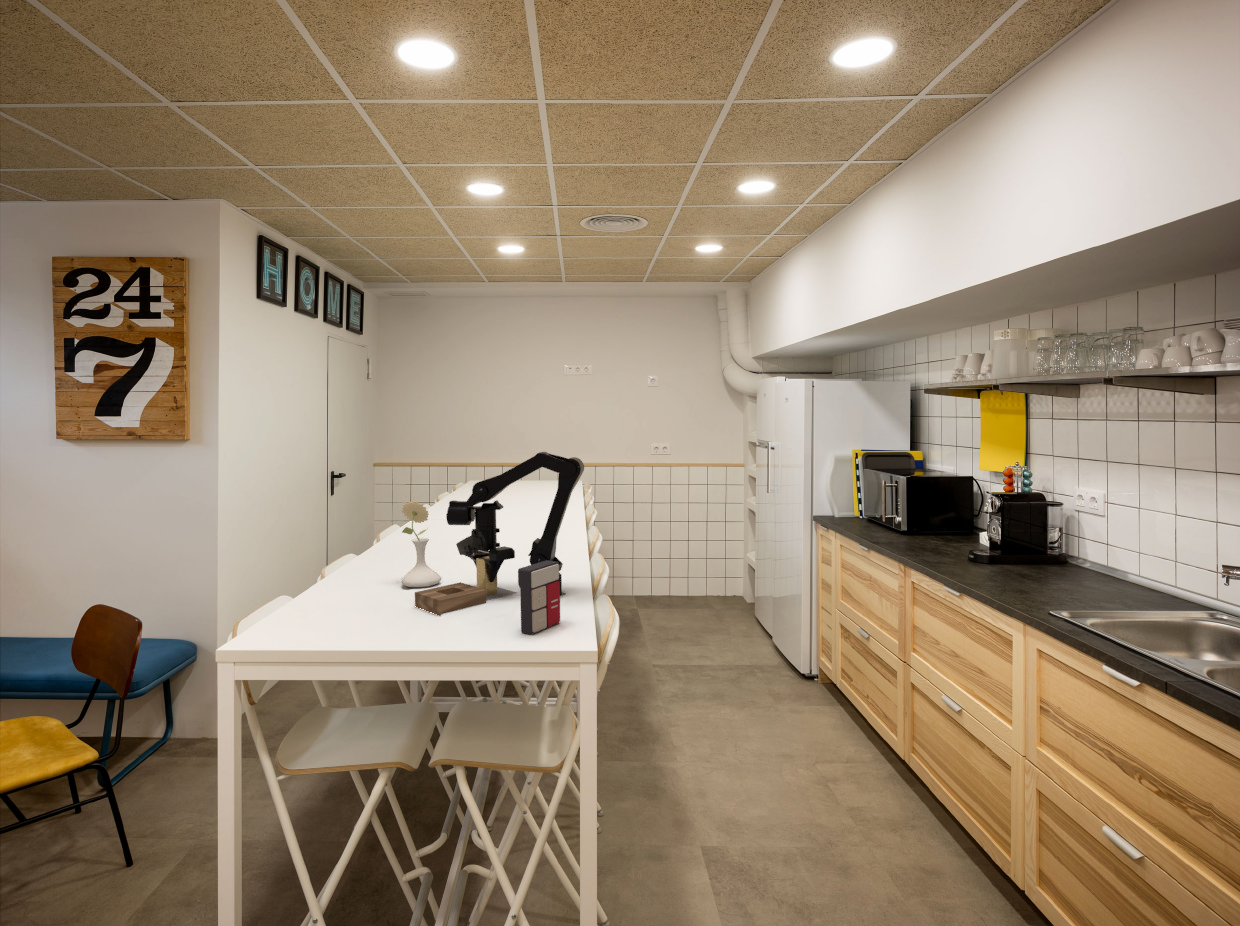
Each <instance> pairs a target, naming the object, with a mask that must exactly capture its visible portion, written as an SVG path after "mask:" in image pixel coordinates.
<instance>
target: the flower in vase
mask: <svg viewBox="0 0 1240 926" xmlns="http://www.w3.org/2000/svg"><path fill="white" fill-rule="evenodd" d="M401 512H402V513H403V515H404V516H405V517H406V518H407V519H408V520H409V521H411V528H410V527H409V526H406V527H404V528H403V530H402V531H401V533H403V534H407V535H412V534H414V536H415V537H416V538H413V539H411V542H412V543H413V545H414V547H415V551H416V563H415V565H414V566H413V568H412V569H410V570H409V571H408V572H407V573H406V574H404V576H403V577H402V579H401V582H400V583H401V584H402V585H403V586H406V587H409V588H426V587H433V586H434V585H436V584H439V583H440V582H441V580H442V576H441V575H440V574H439V573H438V572H437V571H435V570H434V569H432V568H431V567H430V566H428V565H427V563H426V557H425V556H426V555H425V554H426V553H425V552H426V548H427V547H426V546H427V544H428V542H429V540H430V538H427V537H418V536H420V535H422V534H423V533H425V532H426V531H427V530H428V528H429V527H427V528H426V529H422V530H421V531H420V532H419V533H418V534H417V533H416V532H415V531H416V530H414V523H419V524H421V523H424V522H425V521H426V522H427V521H428V518H429V511H428V510H427V507H426V506H424V505H423V504H422V503H421V504H420V503H419V502H418V501H415V502H414V501H408V502H406V503H404V504H403V505H402V510H401Z"/></svg>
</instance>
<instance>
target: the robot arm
mask: <svg viewBox="0 0 1240 926" xmlns="http://www.w3.org/2000/svg"><path fill="white" fill-rule="evenodd" d="M542 468H544V469H548V471H549V470H550V471H552V472H554V473H558V477H557V479H558V481H557V490H556V493H555V496H554V499H553V503H552V506H551V509H550V512H549V513H548V517H547V521H546V523H545V526H544V529H543V533H542V536H541V537H540V538H539V537H536V538H535V540H533V541H532V544H531V549H530V550H531V551H530V552H529V554H527V555H528V557H529V564H530V565H533V564H536V563H539V562H543V561H546V560H548V561H555V562H558V563H559V582H560V597H562V596H565V595H566V594H567V593H566V592H563V590H562V589H563V588H562V584H563V583H562V573H560V572H561V570H562V568H563V565H564V563H563V562H562V561H560V559H559V558H558V557H557V556H556V552H557V539H558V535H559V533H560V529H561V526H562V523H563V520H564V517H565V513H566V511H567V507H568V505H569V501H570V499H571V496H572V493H573V490H574V489H575V487H576V486H577V484H578V482H579V480H580V479H581V477H582V475H583V473H584V471H585V464H584V463H583V461H582V460H581V459H580V458H579V457H576V456H574V457H573V456H571V457H569V458H567V457H563V456H560V455H556V454H552V453H549V452H547V451H541V452H538V453H536V454H535V455H533V456H532V457H530V458H528V459H527V460H524V461H522V462H521V463H520V464H517V465H515V466H513V467H512V468H510V469H508V470H506V471H505V472H503V473H501V474H499V475H495V476H492V477H489V478H487V479H484V480H481V481H478V482H476V483H475V484H474V485H473V486H472V490H471V494H470V495H469V497H468V499H467V500H465V501H464V500H463V501H462V500H450V501H449V503H448V508H447V511H446V512H447V513H446V517H445V518H446V523H447V524H448V525H449V526H470V525H471V524H472V523H473V522H474V521H475V522H474V523H475V526H474V527H475V528H472V529H471V531H470V533H471V534H470V535H469V536H467V537H465V538H463V539H462V540H460V541H459V542H457V543H456V547H457V550H458V553H459V555H460V556H462V555H463V556H465V557H467V558H469V559H470V560H472V561H473V563H474V565H475V568H476V569H477V566H476V558H479V557H484V556H489V558H487V559H483V560H484V561H485V562H486V563H487V565H488V574H489V581H490V582H494V580H495V577H496V575H497V576H498V573H499V570H500V568H501V566H502V565H503V563H504V561H505V560H511V559H515V558H516V555H515V554H516V552H515V549H513V547H508V546H501V545H500V542H498V541H497V540H498V539H497V534H498V533H500V528H498V527H497V511H500V510H502V509H503V508H504V506H503V504H502V503H500V502H499V500H497V499H496V500H494V501H493V502H489V501H490V500H493V499H495V498H496V497H497V496H498V495H499V494H501V493H502V492H503V491H504V490H505V489H506V488H508V487H509V486H510V485H512V484H513V483H515V482H518V481H519V480H521V479H523V478H525V477H526V476H529V475H530V474H532V473H534V472H535V471H538V470H539V469H542ZM480 503H482V504H481V506H480V505H479V506H478V505H477V504H480ZM476 505H477V506H476Z"/></svg>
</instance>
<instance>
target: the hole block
mask: <svg viewBox="0 0 1240 926" xmlns="http://www.w3.org/2000/svg"><path fill="white" fill-rule="evenodd" d="M414 604H415V606H416V607H418V608H417V609H419V608H421V609H424V610H426V611H425V612H427V611H429V612H428V613H430V612H432V613H431V614H433V613H434V614H433V615H435V614H437V615H436V616H438V615H443V614H447V613H451V612H456V611H461V610H463V609H467V608H471V607H476V606H480V605H484V604H487V601H486V590H485V589H482V588H478V587H477V586H474V585H471V584H467V583H464V582H456V583H452V584H447V585H443V586H437V587H433V588H428V589H423V590H419V591H415V592H414ZM415 606H414V607H415ZM416 607H415V608H416ZM421 609H420V610H421ZM424 610H423V611H424Z"/></svg>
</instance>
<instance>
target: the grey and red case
mask: <svg viewBox="0 0 1240 926" xmlns="http://www.w3.org/2000/svg"><path fill="white" fill-rule="evenodd" d="M559 573H560V571H559V563H558V562H555V561H548V560H546V561H543V562H539V563H536V564H533V565H531V564H530V565H526V566H522V567H519V568H518V571H517V582H518V583H517V584H518V587H519V589H520V591H519V593H520V632H521V633H522V634H527V635H534V634H536V633H538V632H541V631H543V630H546V629H548V628H550V627H552V626H555V625H557V624H559V623H560V621H561V596H560V582H559Z"/></svg>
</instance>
